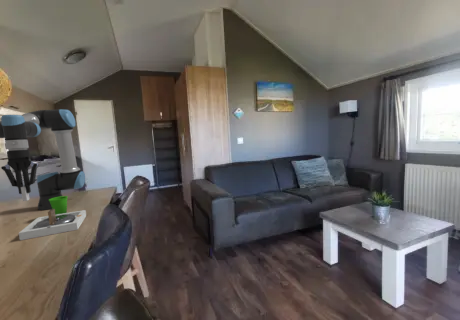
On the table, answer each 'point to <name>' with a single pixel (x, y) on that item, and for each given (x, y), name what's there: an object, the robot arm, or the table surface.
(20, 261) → the table surface
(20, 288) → the table surface
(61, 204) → the cup
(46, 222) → the dial
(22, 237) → the white square tray
